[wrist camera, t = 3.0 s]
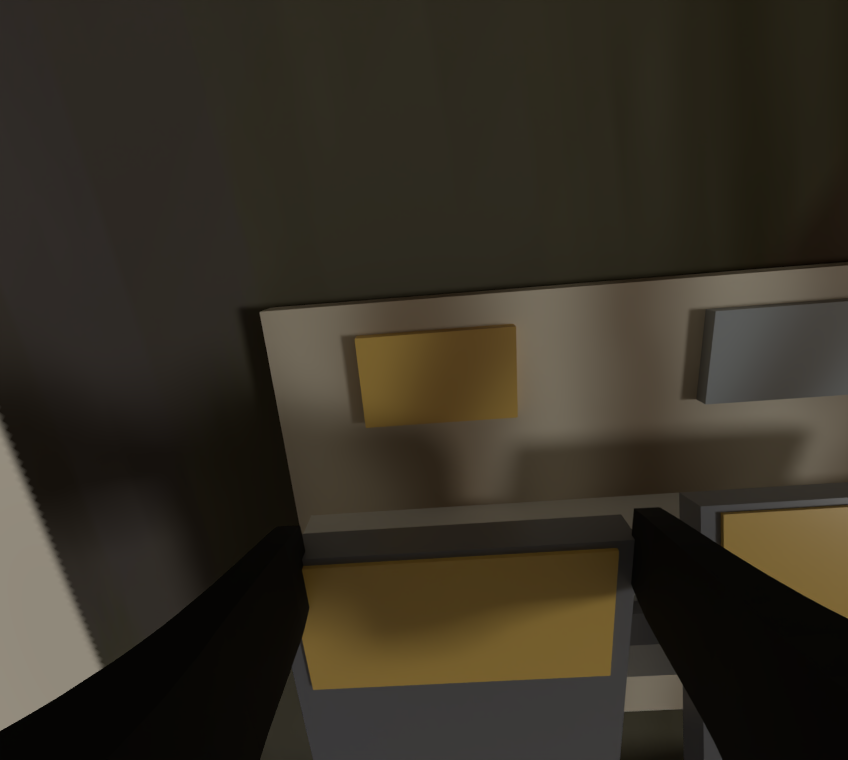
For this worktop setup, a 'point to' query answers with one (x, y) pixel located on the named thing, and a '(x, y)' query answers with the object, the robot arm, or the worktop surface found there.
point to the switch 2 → (773, 553)
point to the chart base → (566, 395)
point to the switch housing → (643, 643)
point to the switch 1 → (467, 641)
